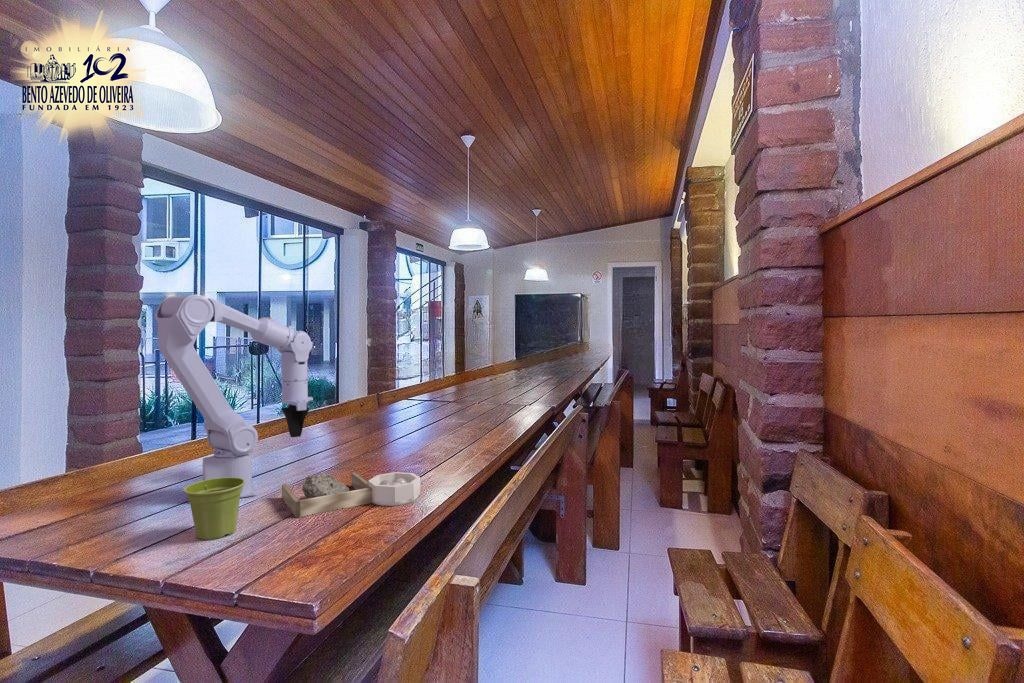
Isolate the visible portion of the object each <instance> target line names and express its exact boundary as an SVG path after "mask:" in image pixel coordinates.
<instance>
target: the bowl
mask: <svg viewBox="0 0 1024 683" xmlns="http://www.w3.org/2000/svg"><path fill="white" fill-rule="evenodd" d="M398 478H403V479H405V480H406V482H407V483H406V484H400V485H395V486H393V485H379V484H380V482H382V481H384V480H388V481H390V482H391V483H392V484H393V483H394V481H395V480H396V479H398ZM367 482H368V486H370V487H371V488H372V503H371V504H373V505H376V506H377V505H378V506H383V507H396V506H403V505H404V506H405V505H407V504H411V503H414V502H415V501H417V500H418V499H419V497H420V493H421V477H420V476H418V475H416V474H415V473H413V472H399V471H396V472H387V473H382V474H377V475H375V476H373V477H372V478H371V479H368V480H367Z"/></svg>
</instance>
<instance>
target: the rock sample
mask: <svg viewBox="0 0 1024 683" xmlns="http://www.w3.org/2000/svg"><path fill="white" fill-rule="evenodd" d="M348 491H350V488H349V487H348V486H346V485H345V484H344V483H342V482H340V481H338V480H336V479H335V478H334V476H333V475H330V474H325V473H324V474H323V473H322V474H318V475H315V474H309V475H308V476H307V477H306V478H305V480H304V481H303V484H302V485H301V489H300V492H303V494H304V496H305V497H306V498H307V499H309V498H315V497H320V496H326V495H331V494H337V493H342V492H348Z"/></svg>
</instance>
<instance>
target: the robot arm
mask: <svg viewBox="0 0 1024 683" xmlns="http://www.w3.org/2000/svg"><path fill="white" fill-rule="evenodd" d="M154 318H155V321H156V322H157V346H158V349H159V352H160V353H161V355H162V357H163V358H164V359H165V360H166V362H167V363H168V366H169V367H170V369H171V370H172V371H173V373H174V375H175V376H176V377H177V379H178V380H179V382H180V383H181V385H182V387H183V388H184V390H185V391H186V393H187V394H188V397H190V398H191V400H192V402H193V404H194V405H195V406H196V408H197V409H198V411H199V413H200V414H201V416H202V417H203V419H204V420H205V421H204V423H203V428H204V430H205V432H206V436H207V437H206V438H207V440H206V441H207V443H208V445H209V446H210V447H211V448H212V449H213V455H211V456H206V457H205V456H204V457H203V458H202V481H203V480H208V479H214V478H224V477H237V478H242V479H244V480H245V484H244V485H243V487H242V492H241V493H240V499H242V498H246V497H253V496H256V495H257V491H256V490H255V488H254V486H253V475H252V474H253V472H252V471H253V469H252V468H253V466H252V463H253V462H252V454H253V450H254V448H255V447H256V446H257V444H258V440H259V434H258V431H257V429H256V428H255V427H254V426H252V425H251V424H248V423H247V422H246V420H245V418H244V417H243V416H242V415H240V414H239V413H238V412H236V411H235V410H234V409H233V408H232V407H231V405H230V403H229V402H228V401H227V399H226V397H225V395H224V394H223V392H222V391H221V389H220V388H219V386H218V384H217V383H216V381H215V380H214V379H215V378H214V377H213V376H212V374H211V372H210V371H209V369H208V368H207V366H206V365H205V363H204V362H203V360H202V358H201V357H200V355H199V353H198V352H197V350H196V348H195V347H194V345H195V342H196V341H197V338H198V336H199V335H200V333H201V332H202V331H203V330H204V329H205V328H206V327H207V325H208V324H209V323H215V322H217V323H219V324H223V325H226V326H229V327H231V328H235V329H237V330H240V331H244V332H246V333H249V334H250V336H251V339H252V340H253V341H255V342H258V343H259V344H262V345H265V346H268V347H271V348H274V349H276V350H277V351H278V353H280V354H281V399H280V400H281V401H280V402H281V404H284V405H288V406H287V407H281V409H280V410H281V412H282V413H283V415H284V418H285V420H286V424H287V428H288V433H289V437H290V438H298V437H299V438H300V437H301V436H302V432H303V428H304V423H305V419H306V417H307V415H308V414H309V411H310V407H308V406H307V403H309V402H310V401H314V397H312V396H309V393H308V392H309V391H308V388H309V387H308V383H309V382H308V381H309V380H308V359H309V358H310V356H309V354H310V352H311V351H312V348H313V344H314V342H313V341H311V337H310V336H309V335H308V333H307V332H305V331H303V330H294V329H293V326H291V325H285V324H282V323H279V322H277V321H276V318H275V317H272V316H267V317H264V316H262V317H260V318H259V319H256V318H254V317H252V316H250V315H248V314H245V313H243V312H241V311H239V310H238V309H235V308H232V307H231V306H229V305H226V304H224V303H222V302H221V301H219V300H217V299H214V298H211V297H210V298H209V297H208V298H207V297H206V296H204V295H201V294H195V293H194V294H190V295H183V296H182V295H180V296H179V295H172V296H171V295H170V296H167V297H166V298H164V299H163V300H161V302H160V303H159V305H158V308H157V309H156V311H155V313H154Z"/></svg>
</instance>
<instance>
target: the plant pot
mask: <svg viewBox="0 0 1024 683" xmlns="http://www.w3.org/2000/svg"><path fill="white" fill-rule="evenodd" d="M244 484H245V480H244V479H242V478H237V477H224V478H214V479H208V480H203V479H202V480H199V481H196V482H193V483H191V484H187V485H186V486H185V487H184V488H183V493H184V494H186V497H187V501H188V502H189V504H190V505H189V506H190V510H191V514H192V520H193V525H194V532H195V536H196V538H200V539H201V540H206V541H207V540H215V539H220V538H222V537H224V536H225V535H231V534H233V533H234V532H236V530H237V524H238V516H239V508H240V499H241V498H240V493H241V492H242V487H243V485H244Z"/></svg>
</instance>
